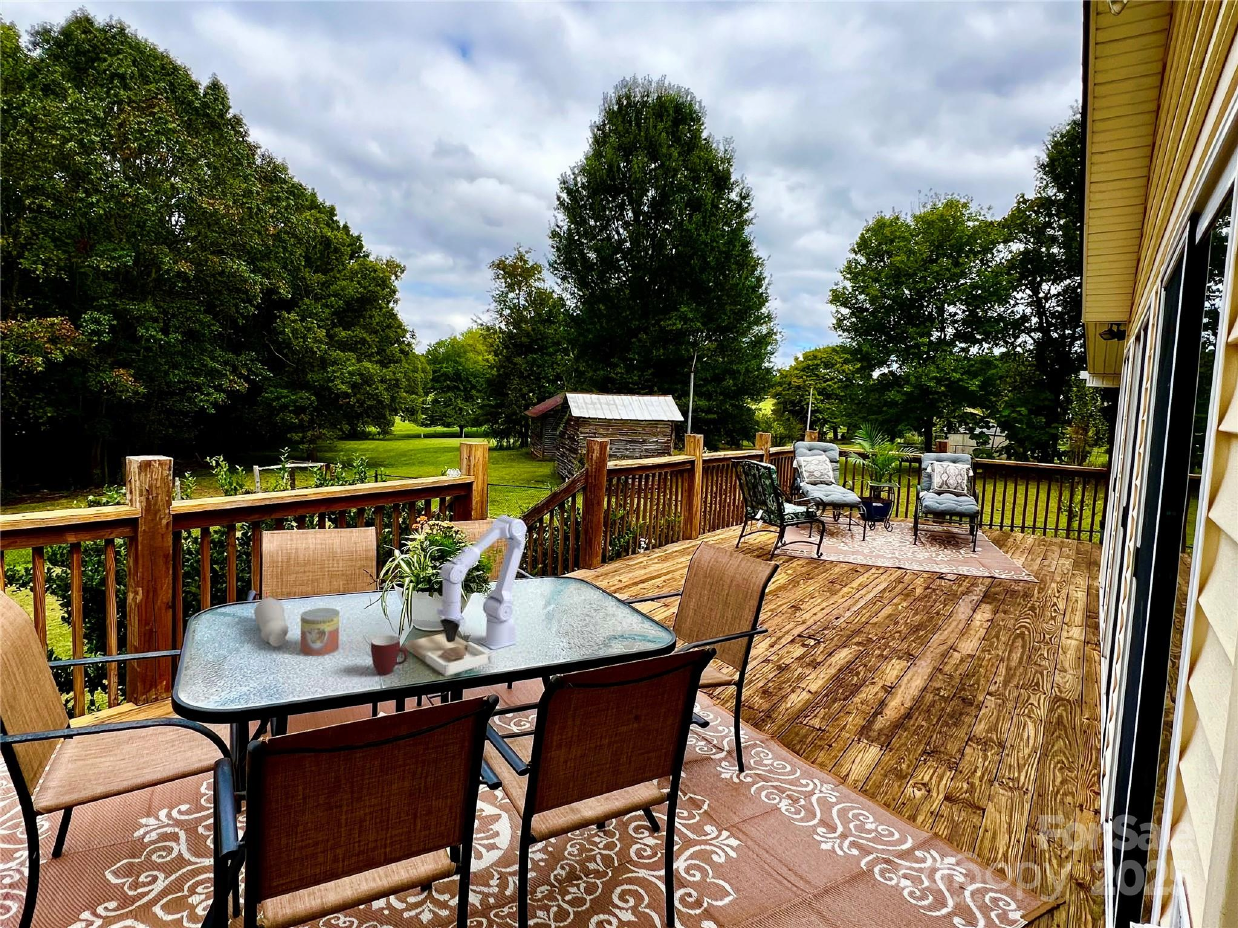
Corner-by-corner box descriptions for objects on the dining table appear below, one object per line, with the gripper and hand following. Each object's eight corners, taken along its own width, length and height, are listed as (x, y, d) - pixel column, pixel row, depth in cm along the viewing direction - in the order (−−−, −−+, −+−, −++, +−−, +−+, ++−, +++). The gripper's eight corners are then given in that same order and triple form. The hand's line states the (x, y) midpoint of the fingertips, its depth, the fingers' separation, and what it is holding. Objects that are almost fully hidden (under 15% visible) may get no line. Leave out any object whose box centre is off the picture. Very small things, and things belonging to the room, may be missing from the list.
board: (448, 637, 219) (449, 632, 219) (470, 650, 209) (470, 644, 209) (405, 648, 208) (405, 642, 208) (425, 661, 198) (425, 655, 198)
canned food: (296, 657, 196) (297, 620, 195) (304, 643, 207) (304, 608, 206) (335, 655, 199) (336, 618, 198) (341, 642, 210) (342, 607, 209)
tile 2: (455, 653, 205) (456, 649, 205) (463, 658, 201) (464, 654, 201) (441, 657, 201) (442, 652, 201) (449, 662, 198) (450, 657, 198)
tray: (470, 650, 209) (470, 641, 209) (491, 662, 200) (491, 653, 200) (425, 662, 198) (425, 652, 198) (445, 675, 189) (445, 666, 189)
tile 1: (457, 650, 204) (458, 645, 204) (465, 655, 200) (466, 650, 200) (443, 653, 200) (444, 649, 200) (451, 659, 197) (451, 654, 197)
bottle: (247, 614, 222) (254, 646, 197) (264, 591, 224) (273, 620, 199) (272, 624, 226) (281, 657, 202) (288, 602, 228) (299, 632, 204)
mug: (408, 665, 195) (409, 634, 194) (406, 676, 187) (407, 644, 186) (371, 667, 192) (372, 635, 191) (368, 679, 184) (369, 645, 183)
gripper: (429, 596, 204) (428, 637, 205) (452, 608, 193) (450, 651, 195) (448, 592, 209) (447, 632, 210) (472, 604, 198) (470, 646, 200)
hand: (450, 641), depth 203 cm, fingers closed
